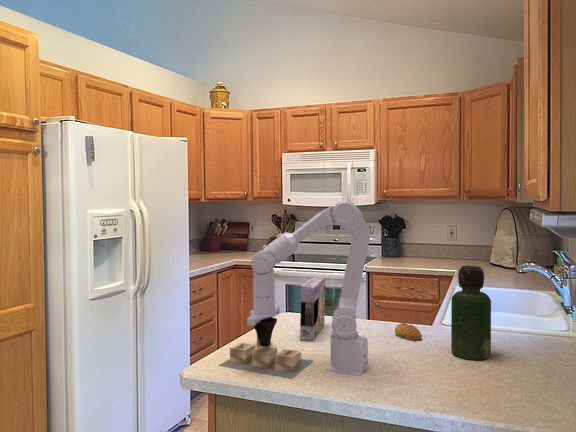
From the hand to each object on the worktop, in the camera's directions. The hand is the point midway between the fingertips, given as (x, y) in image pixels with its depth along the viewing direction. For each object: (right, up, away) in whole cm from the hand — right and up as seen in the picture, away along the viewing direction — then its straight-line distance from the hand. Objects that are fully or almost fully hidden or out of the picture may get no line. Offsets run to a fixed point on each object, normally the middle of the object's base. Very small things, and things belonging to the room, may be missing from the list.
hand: (264, 345), depth 124 cm
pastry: (+45, -5, +26) cm, 52 cm away
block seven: (-6, -5, +3) cm, 9 cm away
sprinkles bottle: (-1, -5, +16) cm, 17 cm away
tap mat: (0, -5, +1) cm, 5 cm away
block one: (+6, -5, -3) cm, 9 cm away
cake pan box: (+14, -5, +30) cm, 33 cm away
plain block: (0, -5, 0) cm, 5 cm away
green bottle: (+58, -5, +7) cm, 59 cm away
